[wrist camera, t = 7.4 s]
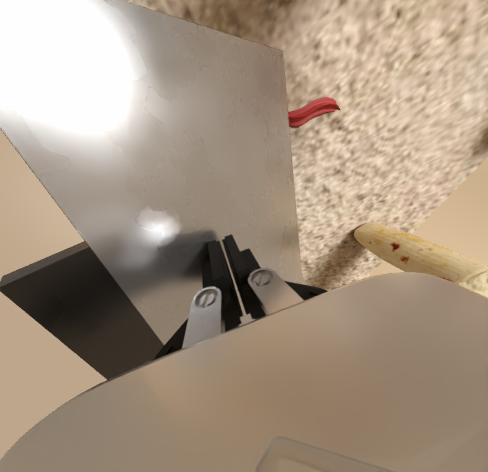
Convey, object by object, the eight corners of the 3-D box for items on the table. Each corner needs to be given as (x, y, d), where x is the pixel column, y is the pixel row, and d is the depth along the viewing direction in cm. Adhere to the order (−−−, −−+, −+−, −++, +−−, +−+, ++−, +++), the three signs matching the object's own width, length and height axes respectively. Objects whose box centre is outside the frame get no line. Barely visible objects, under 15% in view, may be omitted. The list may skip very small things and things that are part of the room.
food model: (343, 242, 41) (452, 307, 24) (358, 215, 39) (490, 266, 22) (371, 248, 45) (485, 309, 27) (386, 224, 42) (520, 274, 25)
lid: (-437, -111, 3) (-649, -244, 2) (269, 59, 14) (282, 51, 13) (178, 430, 13) (186, 445, 12) (293, 274, 25) (301, 276, 24)
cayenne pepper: (270, 124, 28) (275, 122, 26) (275, 87, 26) (281, 82, 24) (333, 134, 31) (341, 133, 29) (342, 102, 29) (351, 99, 27)
